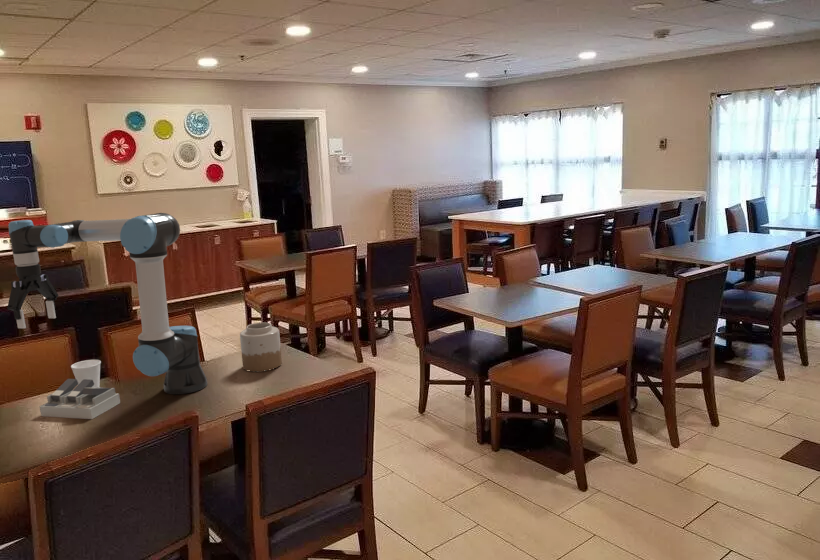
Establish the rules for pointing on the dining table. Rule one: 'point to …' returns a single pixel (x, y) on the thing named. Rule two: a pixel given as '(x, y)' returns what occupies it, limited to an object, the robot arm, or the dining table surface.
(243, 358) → the vase
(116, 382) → the dining table surface
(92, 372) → the cup
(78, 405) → the switch unit
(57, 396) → the rocker
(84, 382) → the rocker
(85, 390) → the rocker
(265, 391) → the dining table surface
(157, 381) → the dining table surface
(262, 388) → the dining table surface
